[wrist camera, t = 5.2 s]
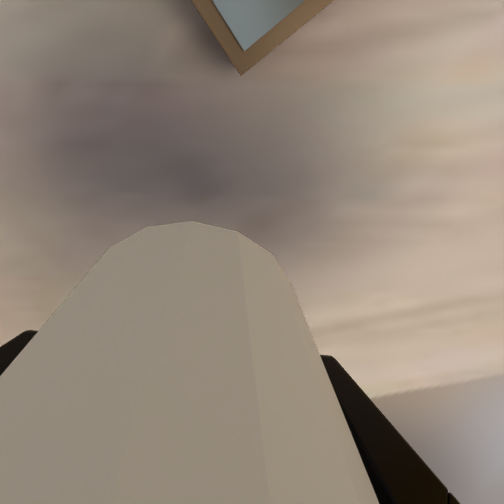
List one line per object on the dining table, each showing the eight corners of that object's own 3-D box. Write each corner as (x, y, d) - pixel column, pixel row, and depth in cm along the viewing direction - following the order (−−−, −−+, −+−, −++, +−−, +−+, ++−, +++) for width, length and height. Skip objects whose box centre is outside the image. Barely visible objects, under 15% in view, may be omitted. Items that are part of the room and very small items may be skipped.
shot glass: (8, 307, 9) (-421, 812, 3) (189, 130, 7) (-72, 653, 1) (195, 418, 12) (157, 791, 6) (364, 317, 10) (563, 738, 4)
